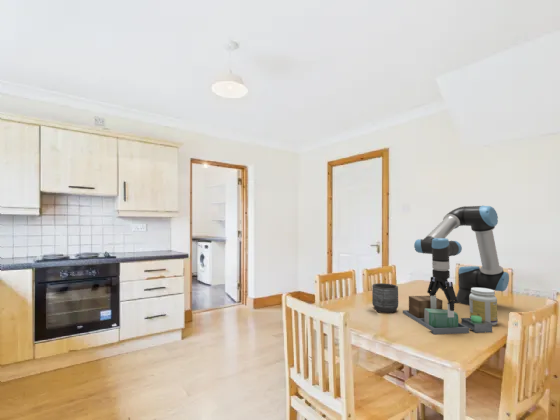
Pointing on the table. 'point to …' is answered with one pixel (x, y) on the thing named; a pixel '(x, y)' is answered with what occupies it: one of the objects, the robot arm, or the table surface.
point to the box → (440, 318)
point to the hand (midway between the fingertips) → (441, 312)
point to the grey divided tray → (437, 330)
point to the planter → (385, 297)
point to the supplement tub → (483, 304)
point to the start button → (476, 319)
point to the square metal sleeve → (477, 325)
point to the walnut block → (421, 305)
